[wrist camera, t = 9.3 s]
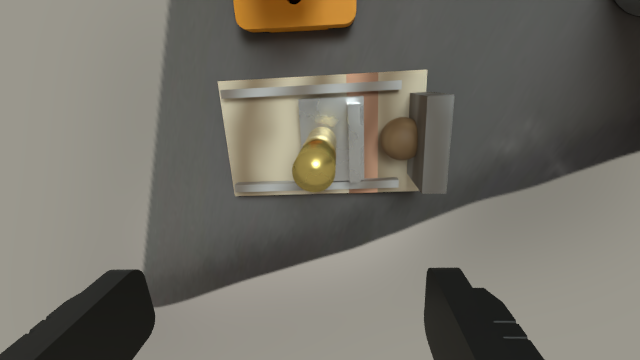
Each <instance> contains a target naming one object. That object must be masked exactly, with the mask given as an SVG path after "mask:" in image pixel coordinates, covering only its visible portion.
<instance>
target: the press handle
mask: <svg viewBox="0 0 640 360" xmlns="http://www.w3.org/2000/svg"><path fill="white" fill-rule="evenodd" d="M298 106H299V120H300V133H301V147H302V149H301V150H300V152H299V154H298V156H297V158H296V160H295V162H294V164H293V167H292V175H293V179H294V181H295V182H296V184H297V185H298V186H299V187H300V188H301V189H303V190H305V191H308V192H321V191H323V190H325V189H327V188H328V187H329V186H330V185H331V184H332V183H333V181H350V183H353V182H361V180H364V96H343V97H323V98H304V99H298Z"/></svg>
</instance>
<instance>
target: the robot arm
mask: <svg viewBox="0 0 640 360" xmlns="http://www.w3.org/2000/svg"><path fill="white" fill-rule="evenodd" d="M615 1H616V3H617V4H618V5H619V6H620V7H621V8H622V9H623V10H625V11H626V12H628V13H630V14H633V15H635V16H640V0H615ZM424 323H425V332H426V336H427V340H428V344H429V346H430V350H431V353H432V355H433V358H434V360H544V359H543V357H542V356H541V355H540V353H539V352H538V350H537V349H536V348H535V346H534V345H533V343H532V342H531V341H530V340H528V339H527V335H526V334H525V332H524V331H523V330H522V328H521V327H520V326H519V324H516V320H515V319H514V317H513V316H512V314H511V313H510V312H509V310H508V309H507V308H506V306H505V305H504V304H503V302H502V301H500V300H499V299H498V298H496V297H495V296H494V295H492V294H491V293H490V292H488V291H487V290H486V289H484V288H472V286H471V285H470V283H469V282H468V280H467V278H466V277H465V275H464V274H463V272H462V271H461V269H459V268H429V269H428V271H427V277H426V293H425V309H424ZM154 324H155V312H154V308H153V304H152V301H151V297H150V294H149V290H148V286H147V283H146V279H145V276H144V274H143V272H142V271H140V270H109V271H107V272H106V273H105V274H103V275H102V276H101V277H100V278H98V279H97V280H96V281H95V282H94V283H92V284H91V285H90V286H89V287H87V288H86V289H85V290H84V291H83V292H81V293H80V294H78V295H76V296H74V297H73V298H71V299H69V300H67V301H66V302H64V303H63V304H62V305H61V306H59V307H58V308H57V309H56V310H54V311H53V312H52V313H51V314H49V316H47V318H46V320H42V321H41V322H40V323H38V324H37V325H36V326H35V327H33V328H32V329H31V330H30V332H29V334H25V335H23V336H22V337H21V338H20V339H18V340H17V341H16V342H15V343H13V344H12V345H11V346H10V347H8V348H7V349H6V350H5V351H4V352H2V353H1V354H0V360H132V359H133V358H134V357H135V355H136V354H137V353H138V351H139V350H140V348H141V347H142V346H143V345H144V343H145V342H146V341H147V339H148V338H149V336H150V335H151V333H152V330H153V327H154Z"/></svg>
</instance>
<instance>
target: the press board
mask: <svg viewBox="0 0 640 360" xmlns="http://www.w3.org/2000/svg"><path fill="white" fill-rule="evenodd" d="M426 85H427V70H412V71H394V72H376V73H359V74H341V75H324V76H306V77H289V78H271V79H253V80H236V81H218V87H219V94H220V100H221V107H222V113H223V120H224V127H225V133H226V140H227V146H228V153H229V160H230V166H231V173H232V179H233V186H234V193H235V196H256V195H292V194H327V193H374V192H398V191H420V192H421V193H422V194H441V193H446V190H447V178H448V166H449V155H450V143H451V131H452V119H453V107H454V95H452V94H445V93H437V92H426ZM343 96H364V180H361V182H353V183H350V181H333V183H332V184H331V185H330V186H329V187H328V188H327V189H325V190H323V191H321V192H308V191H305V190H303V189H301V188H300V187H299V186H298V185H297V184H296V182H295V181H294V179H293V175H292V167H293V164H294V162H295V160H296V158H297V156H298V154H299V152H300V150H301V149H302V147H301V133H300V120H299V106H298V99H304V98H323V97H343Z"/></svg>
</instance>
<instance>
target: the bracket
mask: <svg viewBox="0 0 640 360" xmlns="http://www.w3.org/2000/svg"><path fill="white" fill-rule="evenodd" d="M233 1H234V9H235V18H236V21H237V23H238V25H239V26H240V27H241V28H243V29H245V30H247V31H249V32H271V33H275V32H293V31H311V30H328V28H341V27H348V26H349V25H351V24H352V23H353V21H354V19H355V15H356V0H301V1H300V2H299V3H297V4H290V0H233Z"/></svg>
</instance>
